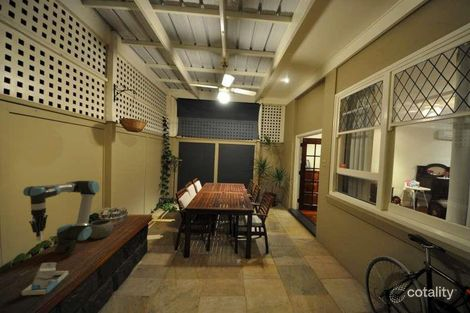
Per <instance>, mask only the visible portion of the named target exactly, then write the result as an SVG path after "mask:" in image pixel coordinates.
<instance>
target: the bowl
mask: <svg viewBox="0 0 470 313" xmlns="http://www.w3.org/2000/svg"><path fill="white" fill-rule="evenodd" d="M89 224H90V226H89V227H91V229H92V232H91V234H90V236H89V237H88V238H91V239H93V240H96V239H97V240H98V239H102V238H106V237H107V236H109V235H110V234H111V233H112V231H113V230H114V229H113V228H114V226H113V221H112V220H110V219H101V220H95V221H92V222H91V223H89Z"/></svg>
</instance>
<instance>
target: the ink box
mask: <svg viewBox="0 0 470 313" xmlns="http://www.w3.org/2000/svg"><path fill="white" fill-rule="evenodd" d="M56 266H57V262H42V263H41V264H40V267H39V268H38V269H37V273H36V274H35V276H34V279H33V282H32V286H31V290H45V289H46V288H47V287H48V286H49V285H50V283H51V280H53V278H54V276H55V275H54V273H55V271H56V270H57V269H56Z"/></svg>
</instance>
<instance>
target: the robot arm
mask: <svg viewBox="0 0 470 313" xmlns="http://www.w3.org/2000/svg"><path fill="white" fill-rule="evenodd" d="M99 191H100V184H99V182H98V181H95V180H75V181H67V182H65V183H59V184H58V183H57V184H48V185H47V184H46V185H36V186H33V185H30V186H26V187H25V188H23V191H22V192H23V196H25V197H30V215H31V216H32V220H30V221H28V222H29V224H30V227H31V230H32V233H34V234H35V237H36V241H39V242H40V241H43V238H44V237H43V234H44V232H43V231H45V229H46V227H47V226H46V225H47V219H48V216H49V214H46V213H47V206H46V199H49V198H53V197H56V196H58V195H60V194H61V193H77V194H78V193H79V194H80V196H81V199H80V204H79V210H78V214H77V215H78V216H77V219H76V223H75V224H73V223H69V224H64V225H61V226H59V227H58V228H57V230H56V246H55V248H54V252H53V253H54V255H55V256H60V255H66V254H69V253H72V252H74V251H75V250H76V249H77V245H76V243H75V241H78V242H79V241H85V240H87V239H88V238H90V237H89V236H90V234H91V232H92V229H91V227H89V226H90V224H91V223H89V220H90V214H91V209H92V204H93V199H94V196H96V194H97V193H98V192H99Z"/></svg>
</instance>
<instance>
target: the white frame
mask: <svg viewBox="0 0 470 313" xmlns="http://www.w3.org/2000/svg"><path fill="white" fill-rule="evenodd" d="M68 275H69V270H57V271H55V273H54V276H59V277H58V278H56V279H52V280H51V283H50V285H49V286H48V287H47V288H45V289H36V290H32V289H31V286H32V284H33V283H32V284H30V285H28V286H27V287H26V288H25V289H23V290H22V291H21V296H32V295H33V296H34V295H35V296H36V295H46V294H48V293H49V292H51V291H52V290H53V289H54V288H55V287H57V286H58V284H59V283H60V282H61V281H62V280H63V279H64V278H66V277H67V276H68Z"/></svg>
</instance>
